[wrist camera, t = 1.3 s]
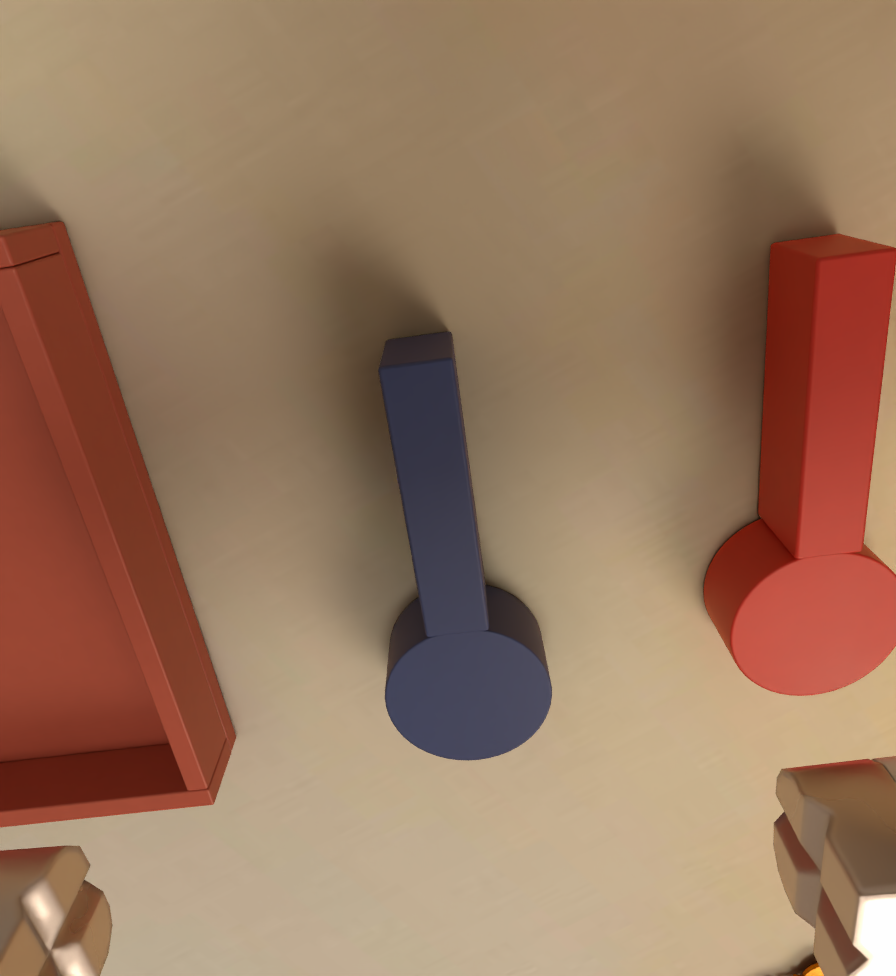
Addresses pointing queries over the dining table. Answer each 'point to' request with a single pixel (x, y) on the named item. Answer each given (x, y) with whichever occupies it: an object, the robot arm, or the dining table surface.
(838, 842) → the robot arm
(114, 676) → the red tray
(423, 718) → the blue spoon
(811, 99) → the dining table surface
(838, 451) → the red spoon
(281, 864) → the dining table surface
